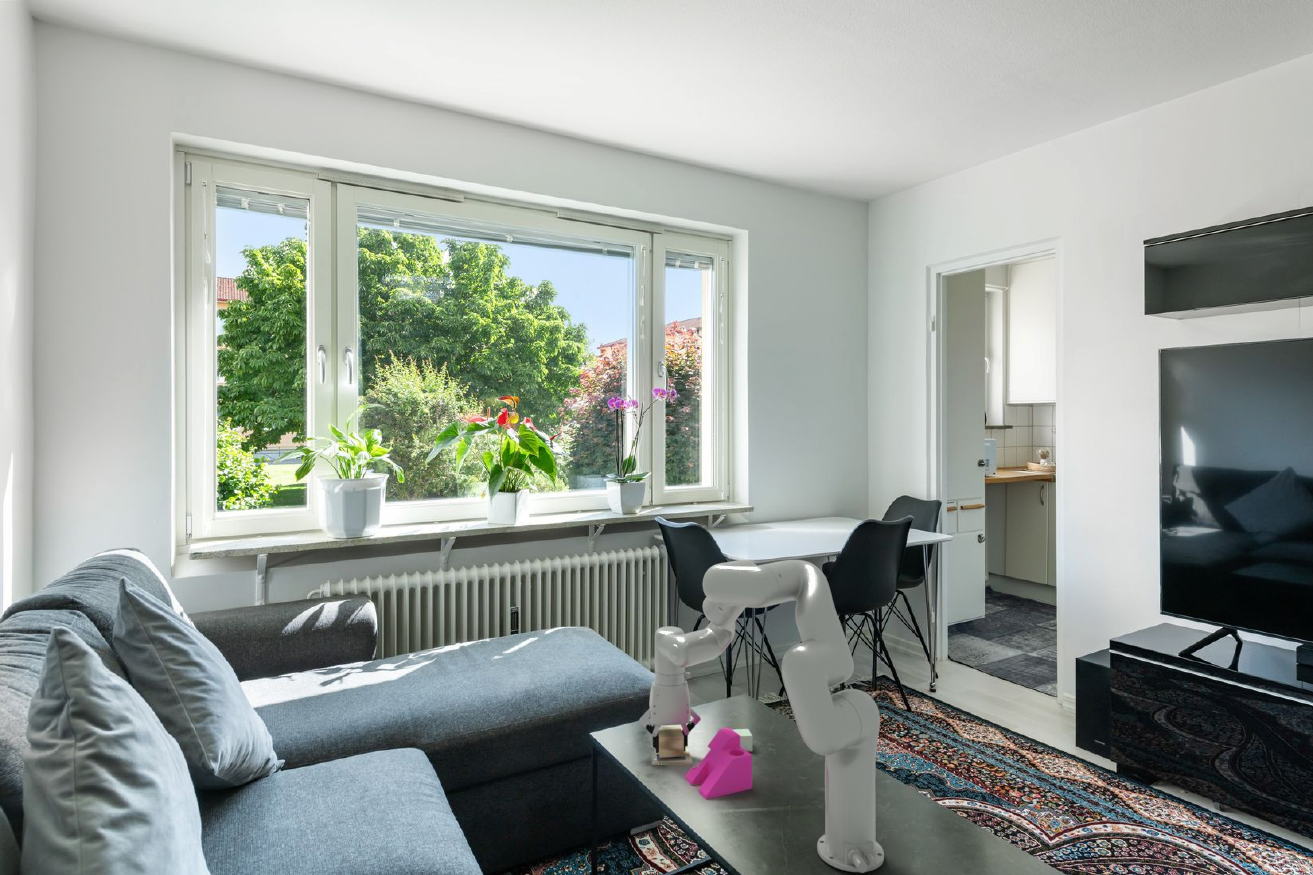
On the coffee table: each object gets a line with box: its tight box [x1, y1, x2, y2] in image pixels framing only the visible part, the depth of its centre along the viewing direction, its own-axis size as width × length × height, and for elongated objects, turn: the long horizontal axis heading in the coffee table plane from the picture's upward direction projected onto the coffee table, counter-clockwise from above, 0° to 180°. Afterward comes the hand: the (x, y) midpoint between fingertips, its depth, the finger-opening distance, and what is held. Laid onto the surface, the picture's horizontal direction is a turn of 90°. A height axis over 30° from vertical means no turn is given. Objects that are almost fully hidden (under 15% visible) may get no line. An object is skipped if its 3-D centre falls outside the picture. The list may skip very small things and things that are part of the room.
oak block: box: [658, 726, 684, 758], centre depth 180 cm, size 6×6×5 cm
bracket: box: [684, 727, 753, 800], centre depth 166 cm, size 12×10×10 cm
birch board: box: [651, 746, 694, 766], centre depth 180 cm, size 10×10×1 cm
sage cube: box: [732, 728, 753, 752], centre depth 185 cm, size 4×4×4 cm
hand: (670, 749), depth 180 cm, fingers closed on oak block, 6 cm apart
